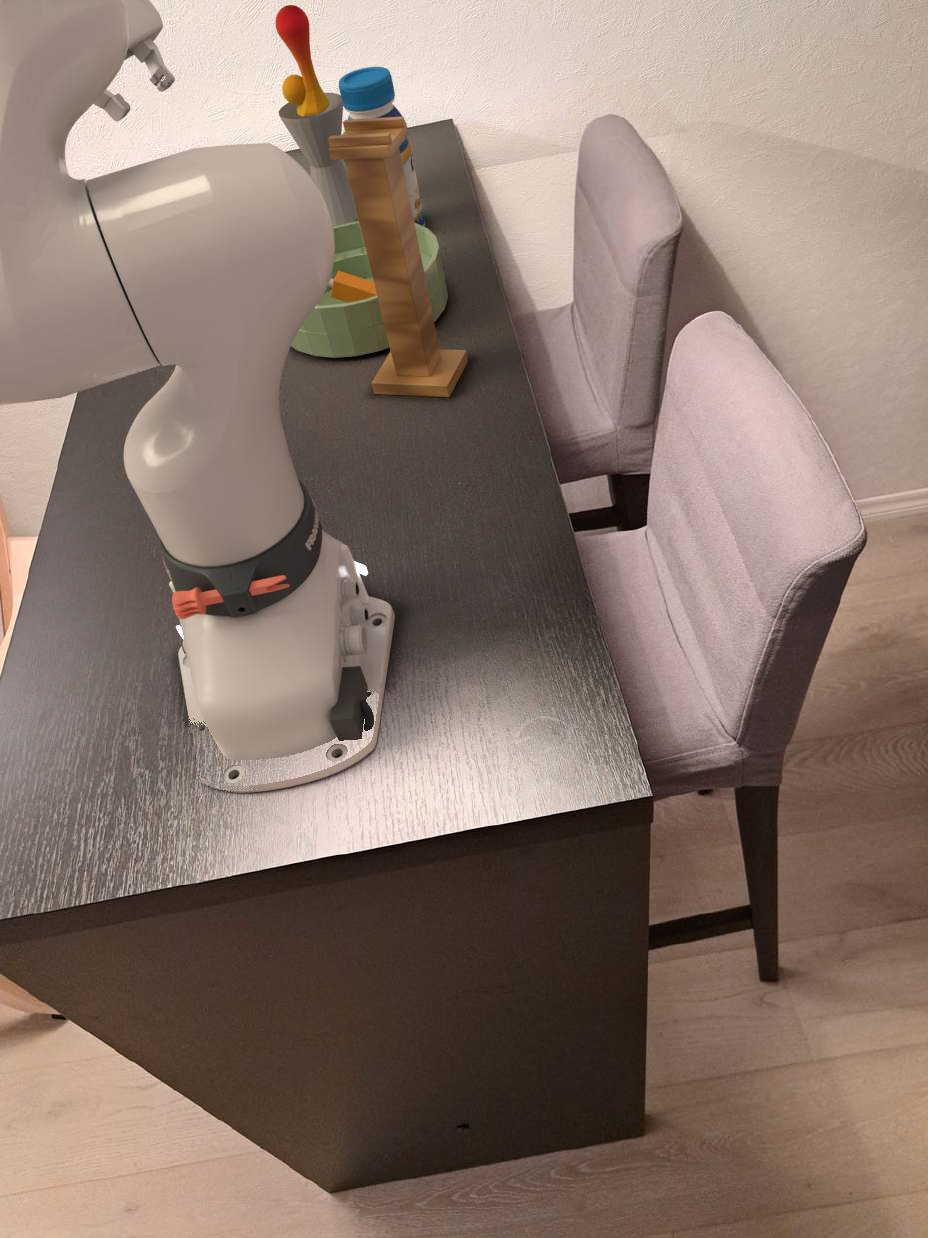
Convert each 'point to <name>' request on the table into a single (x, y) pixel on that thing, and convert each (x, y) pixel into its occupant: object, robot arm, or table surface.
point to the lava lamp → (314, 117)
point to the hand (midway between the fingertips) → (147, 100)
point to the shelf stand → (395, 260)
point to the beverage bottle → (373, 99)
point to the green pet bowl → (360, 322)
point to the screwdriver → (351, 287)
